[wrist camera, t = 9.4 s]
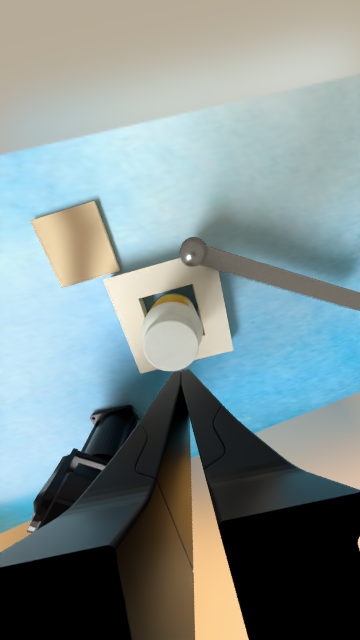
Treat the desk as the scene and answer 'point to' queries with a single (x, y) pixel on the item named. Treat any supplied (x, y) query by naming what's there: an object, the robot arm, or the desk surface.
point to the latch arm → (265, 274)
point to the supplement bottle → (171, 333)
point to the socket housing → (163, 278)
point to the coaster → (76, 244)
